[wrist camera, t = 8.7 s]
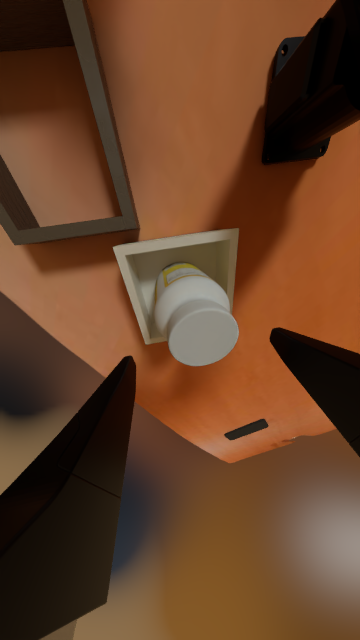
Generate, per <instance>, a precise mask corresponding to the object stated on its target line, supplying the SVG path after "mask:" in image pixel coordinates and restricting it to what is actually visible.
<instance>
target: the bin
mask: <svg viewBox="0 0 360 640" xmlns="http://www.w3.org/2000/svg"><path fill="white" fill-rule="evenodd" d="M238 236H239V228H232V229H220V230H213V231H206V232H200V233H193V234H186V235H180V236H173V237H166V238H160V239H153V240H146V241H139V242H133V243H126V244H121V245H118V246H114V247H113V250H114V253H115V255H116V258H117V261H118V264H119V267H120V270H121V273H122V276H123V279H124V282H125V285H126V288H127V291H128V294H129V297H130V300H131V303H132V306H133V309H134V311H135V314H136V317H137V320H138V323H139V326H140V329H141V332H142V335H143V338H144V341H145V344H146V345H147V344H153V343H158V342H164V341H168V340H166V339H165V338H164V337H163V336H162V335H161V334H160V332H159V330H158V329H157V326H156V323H155V318H154V303H155V284H156V280H157V277H158V275H159V274H160V272H161V271H162V270H163V269H164V268H165V267H166V266H168V265H170V264H172V263H175V262H187V263H190V264H192V265H194V266H196V267H197V268H198V269H199V270H201V271H202V272H203V273H205V274H206V275H207V276H208V277H210V278H211V279H212V280H214V281H215V282H216V283H217V284H218V285H219V286H221V288H222V289H223V290H224V291H225V293H226V295H227V297H228V300H229V304H230V314H231V315H232V308H233V296H234V284H235V272H236V260H237V248H238Z"/></svg>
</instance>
